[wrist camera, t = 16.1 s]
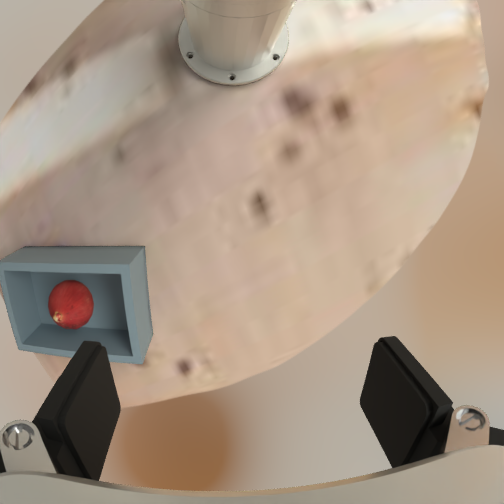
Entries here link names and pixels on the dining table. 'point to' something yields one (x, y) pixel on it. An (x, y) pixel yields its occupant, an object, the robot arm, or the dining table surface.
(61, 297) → the red round fruit
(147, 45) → the dining table surface
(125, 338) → the blue-grey open box
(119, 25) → the dining table surface
